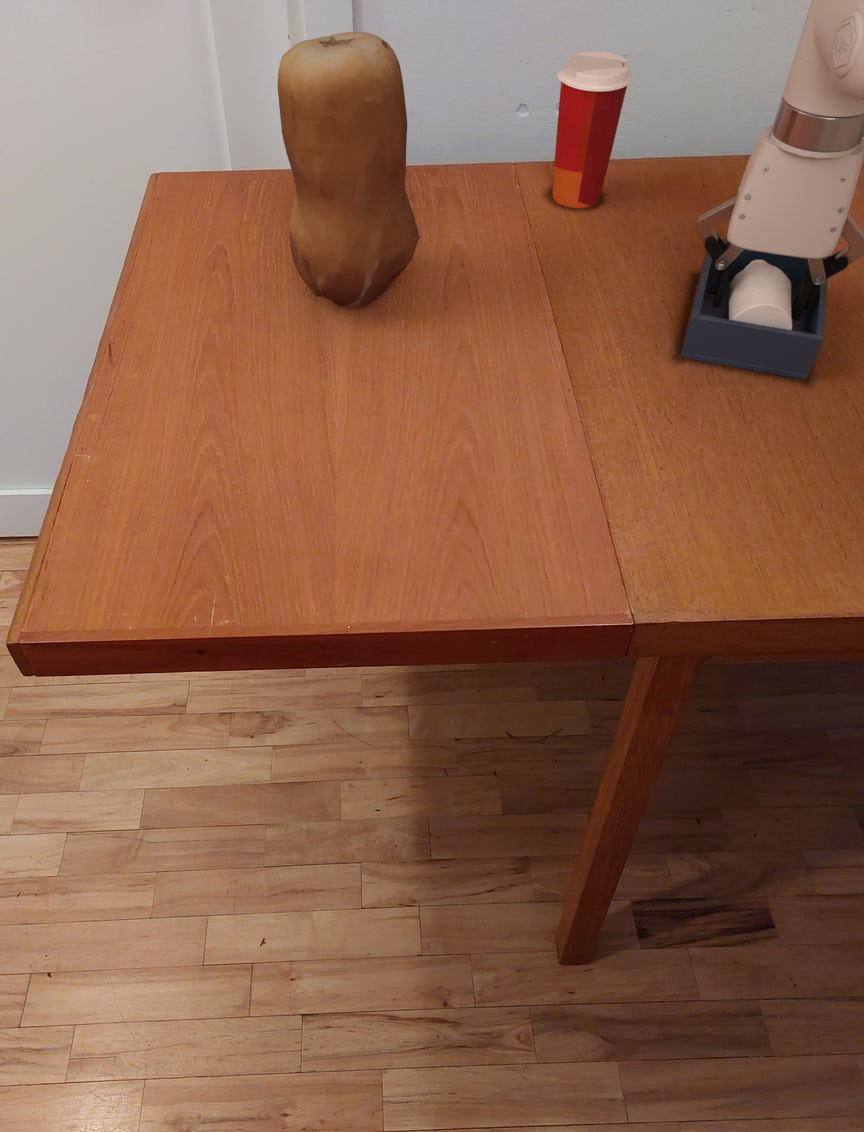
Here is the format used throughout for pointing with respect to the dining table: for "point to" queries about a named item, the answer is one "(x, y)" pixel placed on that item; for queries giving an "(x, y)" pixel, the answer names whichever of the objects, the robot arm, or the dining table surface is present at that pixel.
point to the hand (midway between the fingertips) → (756, 306)
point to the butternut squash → (347, 165)
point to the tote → (751, 342)
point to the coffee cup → (587, 124)
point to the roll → (761, 296)
